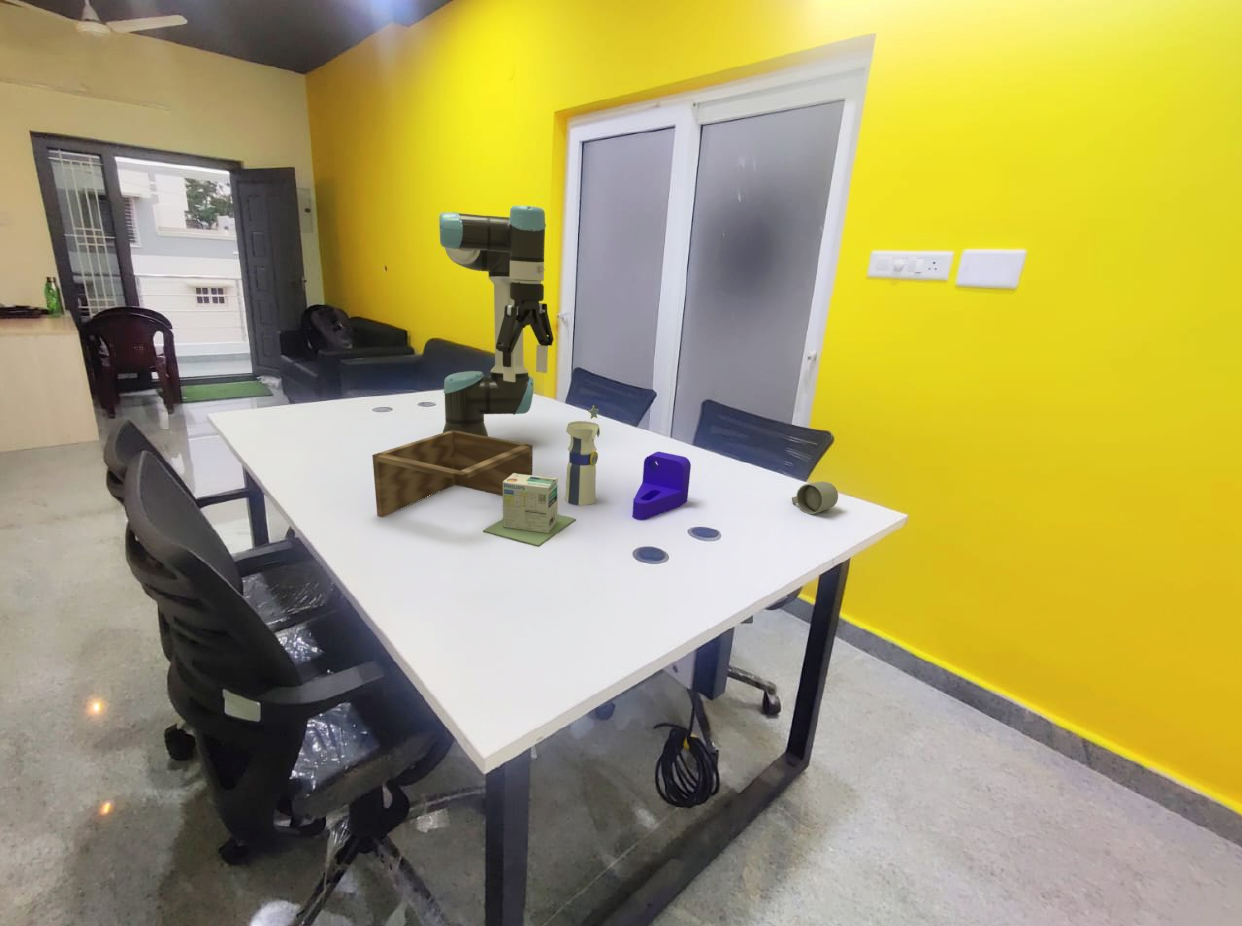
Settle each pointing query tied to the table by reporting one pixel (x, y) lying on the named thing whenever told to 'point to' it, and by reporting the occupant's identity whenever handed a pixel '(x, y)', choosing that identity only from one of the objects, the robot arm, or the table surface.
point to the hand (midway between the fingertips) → (526, 376)
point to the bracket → (662, 485)
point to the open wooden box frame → (446, 467)
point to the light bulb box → (530, 502)
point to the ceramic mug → (816, 497)
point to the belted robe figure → (582, 462)
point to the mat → (529, 536)
